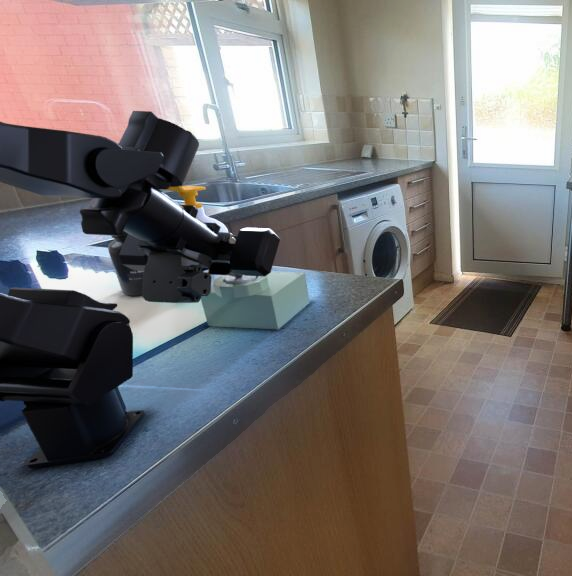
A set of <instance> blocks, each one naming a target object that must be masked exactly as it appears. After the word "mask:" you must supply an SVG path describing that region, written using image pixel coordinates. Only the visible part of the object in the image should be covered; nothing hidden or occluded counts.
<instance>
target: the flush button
mask: <svg viewBox="0 0 572 576" xmlns="http://www.w3.org/2000/svg"><path fill="white" fill-rule="evenodd" d="M255 279H257V277H256V276H246V275H243V276H242V277H234V276H229V275H228V276H227V277H225V282H226V283H227V284H240V283H246V282H249V281H253V280H255Z"/></svg>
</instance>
